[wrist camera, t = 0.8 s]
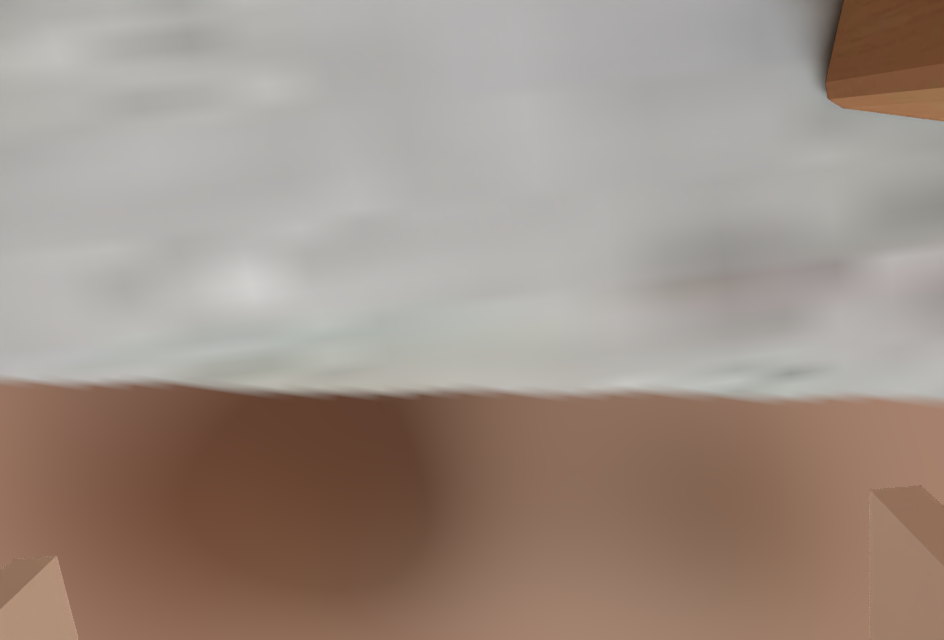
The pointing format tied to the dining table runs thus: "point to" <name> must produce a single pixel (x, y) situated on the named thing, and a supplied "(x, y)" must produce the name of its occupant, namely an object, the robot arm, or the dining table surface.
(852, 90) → the wooden block
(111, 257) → the dining table surface
